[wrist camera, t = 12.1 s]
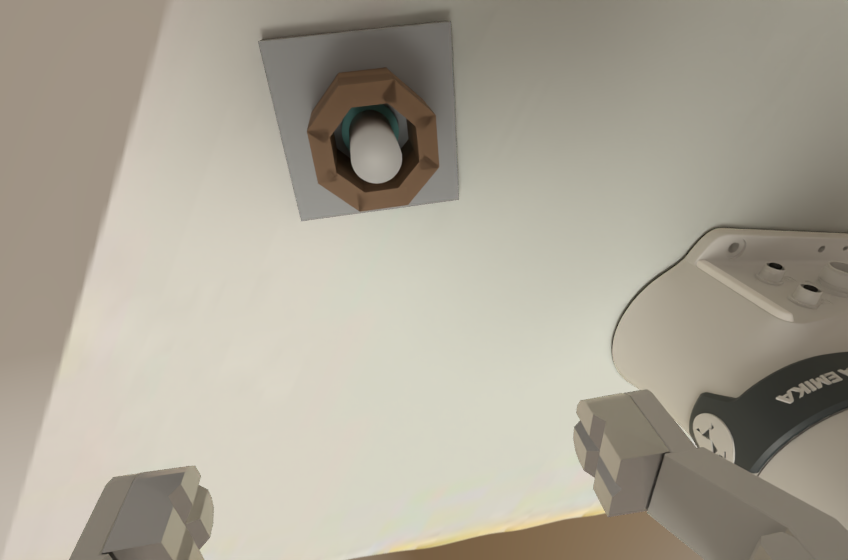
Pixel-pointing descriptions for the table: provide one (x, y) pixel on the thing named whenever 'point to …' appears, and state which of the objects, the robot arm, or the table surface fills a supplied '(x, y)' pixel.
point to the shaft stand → (363, 107)
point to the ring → (416, 152)
